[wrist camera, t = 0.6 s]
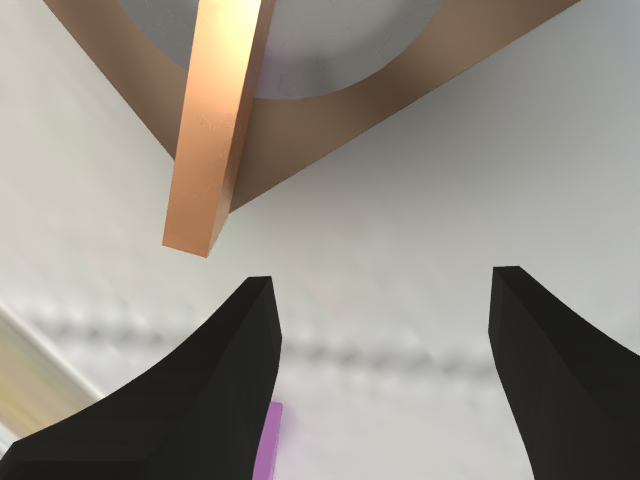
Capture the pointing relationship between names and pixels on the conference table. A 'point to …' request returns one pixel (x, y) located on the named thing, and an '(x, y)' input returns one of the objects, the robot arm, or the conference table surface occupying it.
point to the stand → (309, 113)
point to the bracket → (268, 444)
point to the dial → (257, 80)
